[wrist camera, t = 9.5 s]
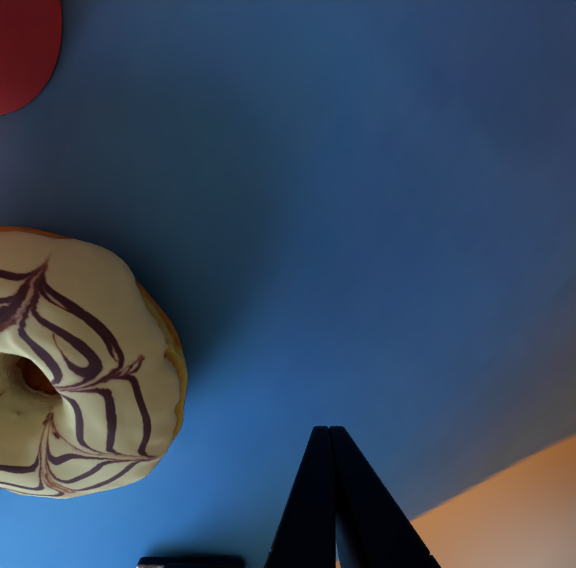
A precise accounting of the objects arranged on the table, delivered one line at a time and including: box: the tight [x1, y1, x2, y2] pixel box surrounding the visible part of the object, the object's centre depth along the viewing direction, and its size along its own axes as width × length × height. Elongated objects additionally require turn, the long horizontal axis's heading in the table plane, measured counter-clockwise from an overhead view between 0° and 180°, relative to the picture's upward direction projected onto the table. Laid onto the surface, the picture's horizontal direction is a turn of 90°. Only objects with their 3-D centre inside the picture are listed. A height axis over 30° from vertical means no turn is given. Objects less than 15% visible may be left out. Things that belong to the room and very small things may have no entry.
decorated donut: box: [0, 226, 188, 498], centre depth 11 cm, size 10×11×4 cm
